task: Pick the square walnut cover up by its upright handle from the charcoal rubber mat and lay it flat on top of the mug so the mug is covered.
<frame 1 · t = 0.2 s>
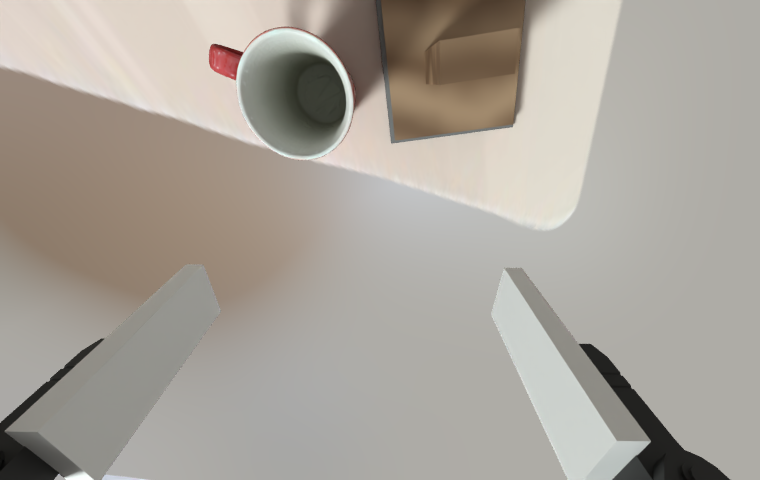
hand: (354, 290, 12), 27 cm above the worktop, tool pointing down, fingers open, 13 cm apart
mug: (312, 86, 33), on the worktop
cover: (450, 64, 31), point 1 cm above the worktop, touching mat
mat: (449, 65, 31), on the worktop
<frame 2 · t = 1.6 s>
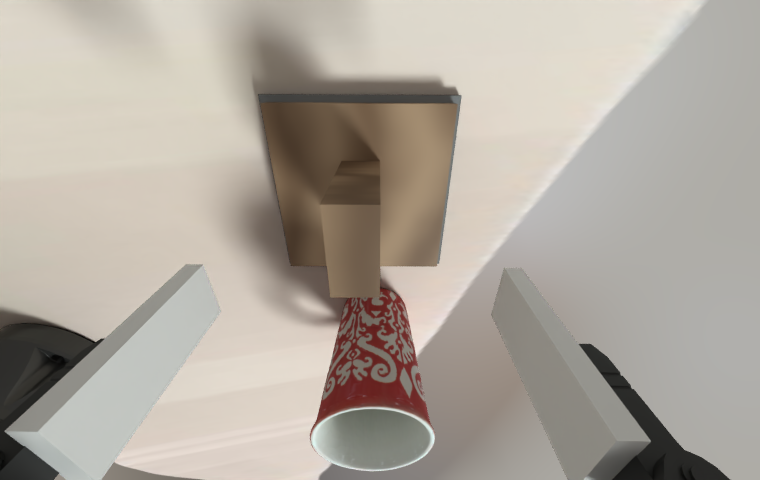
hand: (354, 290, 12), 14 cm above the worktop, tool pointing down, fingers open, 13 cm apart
mug: (366, 318, 33), on the worktop
cover: (362, 192, 24), point 1 cm above the worktop, touching mat
mat: (363, 189, 24), on the worktop
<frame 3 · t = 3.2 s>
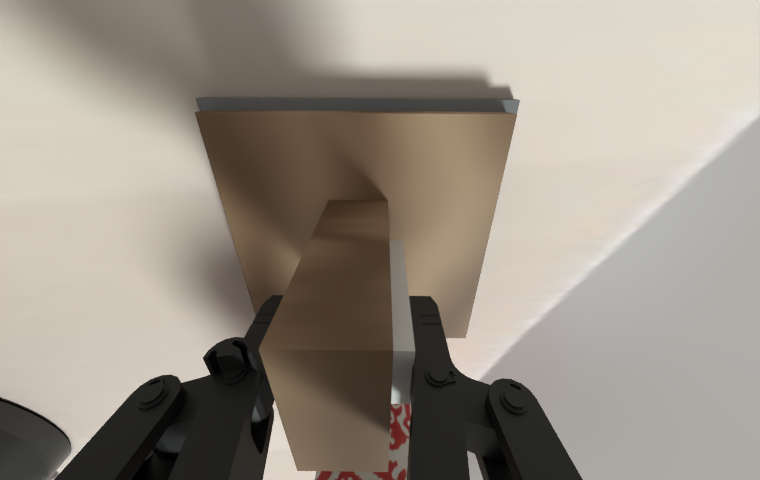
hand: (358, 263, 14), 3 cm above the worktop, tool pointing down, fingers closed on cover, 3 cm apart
mug: (367, 387, 25), on the worktop
cover: (361, 239, 16), point 1 cm above the worktop, touching gripper, mat
mat: (362, 234, 17), on the worktop
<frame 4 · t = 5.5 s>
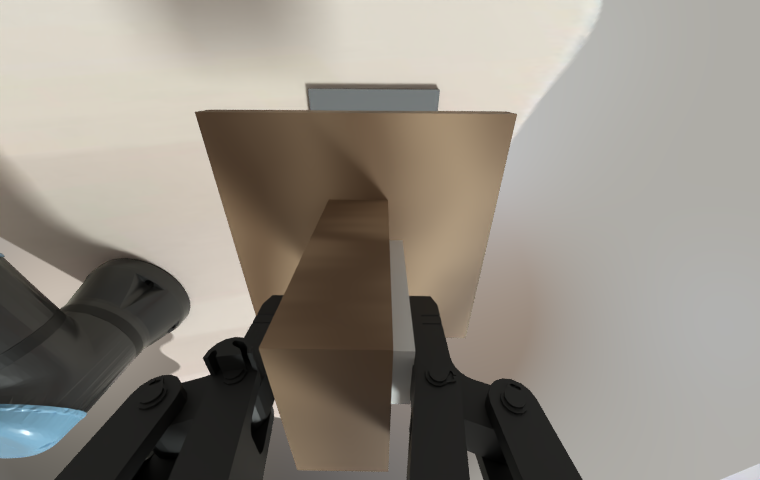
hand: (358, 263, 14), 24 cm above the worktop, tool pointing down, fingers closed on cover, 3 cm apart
cover: (361, 239, 16), point 22 cm above the worktop, touching gripper
mat: (374, 155, 36), on the worktop
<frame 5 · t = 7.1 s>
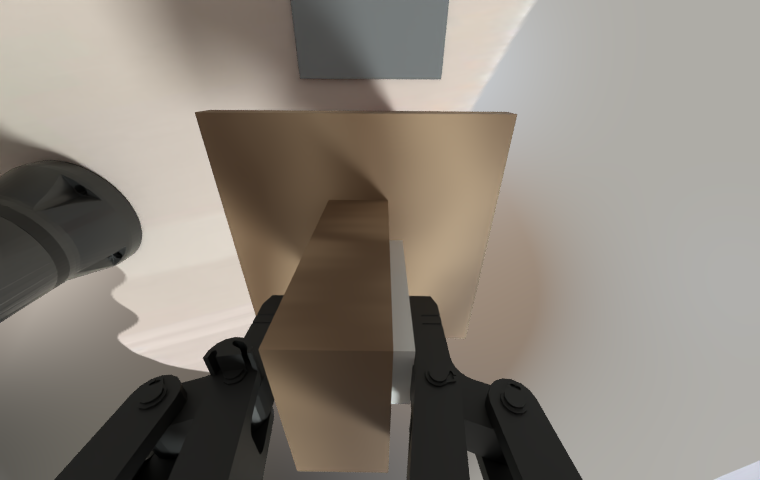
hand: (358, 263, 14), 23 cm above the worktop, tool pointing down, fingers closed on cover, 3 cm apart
cover: (361, 239, 16), point 20 cm above the worktop, touching gripper
when the fingers open (17 cm above the worktop, at t = 8.1 s): cover drops 1 cm, resting on mug.
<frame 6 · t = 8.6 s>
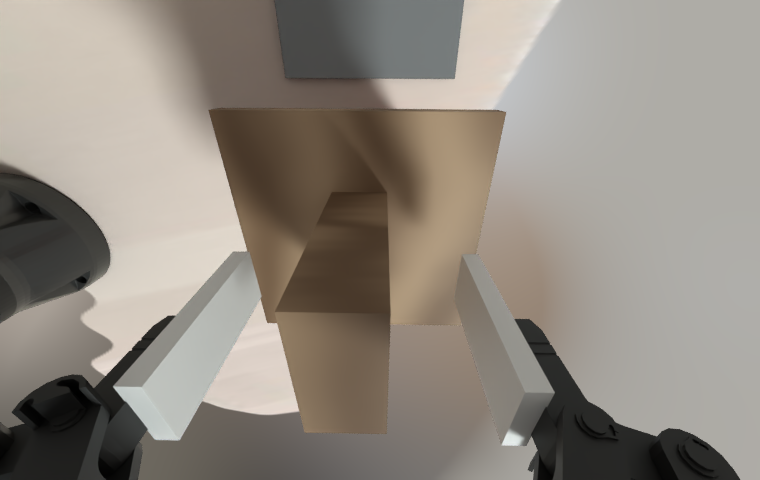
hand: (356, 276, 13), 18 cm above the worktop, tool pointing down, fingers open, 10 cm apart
cover: (362, 230, 17), point 13 cm above the worktop, touching mug
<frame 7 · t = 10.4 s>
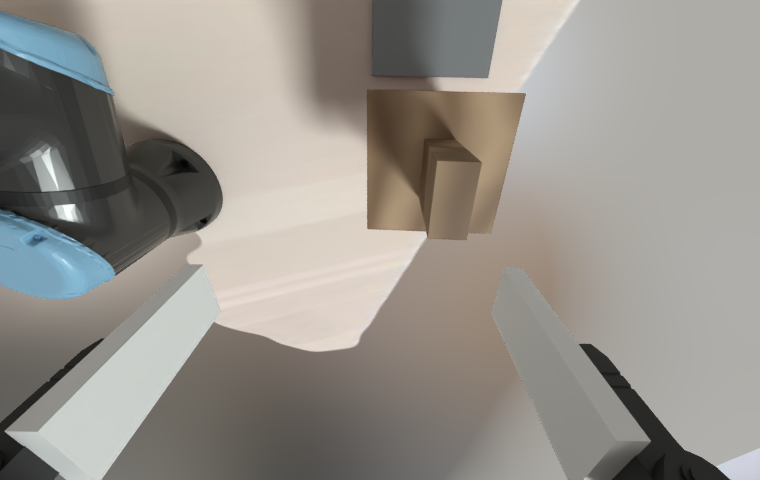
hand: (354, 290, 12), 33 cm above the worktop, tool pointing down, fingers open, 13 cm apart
cover: (434, 167, 29), point 13 cm above the worktop, touching mug
mat: (436, 3, 33), on the worktop
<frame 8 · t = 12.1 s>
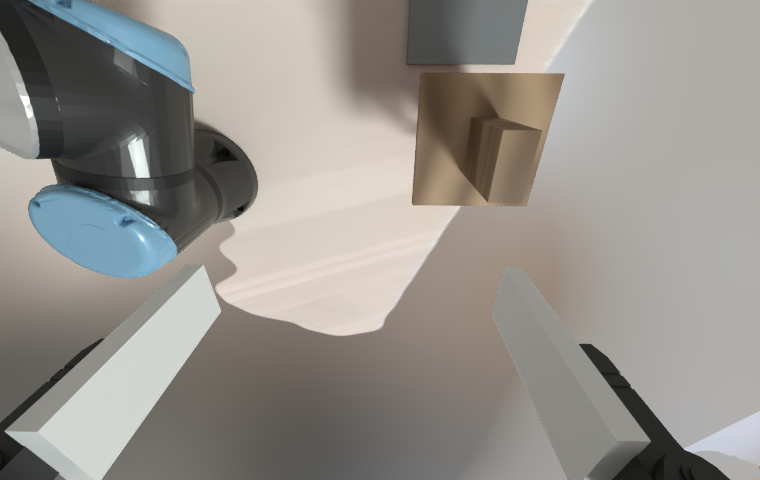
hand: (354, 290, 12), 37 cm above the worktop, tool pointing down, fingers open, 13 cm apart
cover: (476, 144, 32), point 13 cm above the worktop, touching mug
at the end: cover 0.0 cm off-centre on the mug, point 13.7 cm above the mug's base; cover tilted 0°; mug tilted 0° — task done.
